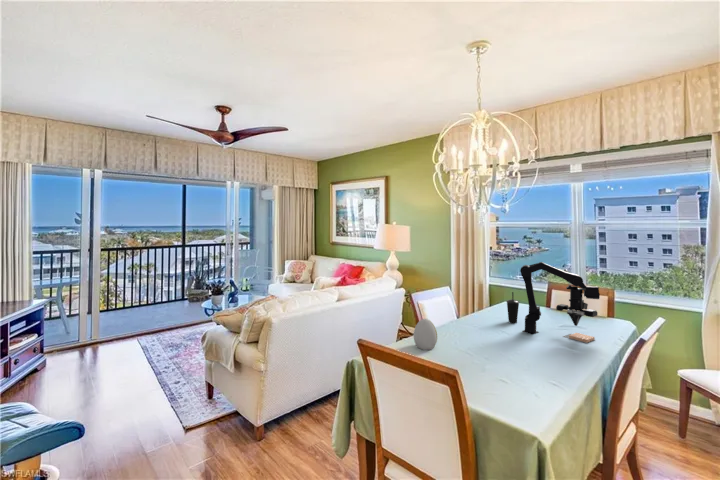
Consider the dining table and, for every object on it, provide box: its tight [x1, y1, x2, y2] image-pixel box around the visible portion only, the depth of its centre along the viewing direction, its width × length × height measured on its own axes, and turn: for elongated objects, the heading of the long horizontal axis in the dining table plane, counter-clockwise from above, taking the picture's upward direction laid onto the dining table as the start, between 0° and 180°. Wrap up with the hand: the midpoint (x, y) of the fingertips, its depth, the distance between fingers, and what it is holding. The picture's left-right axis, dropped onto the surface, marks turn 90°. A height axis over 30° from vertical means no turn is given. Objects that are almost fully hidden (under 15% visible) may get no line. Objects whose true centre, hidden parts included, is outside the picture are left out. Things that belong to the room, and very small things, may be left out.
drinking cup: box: [506, 291, 520, 324], centre depth 215 cm, size 8×8×20 cm
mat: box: [562, 333, 596, 344], centre depth 182 cm, size 9×13×1 cm
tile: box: [568, 332, 596, 344], centre depth 181 cm, size 8×2×9 cm
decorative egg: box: [413, 318, 438, 351], centre depth 174 cm, size 12×12×15 cm
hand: (575, 325), depth 183 cm, fingers closed
